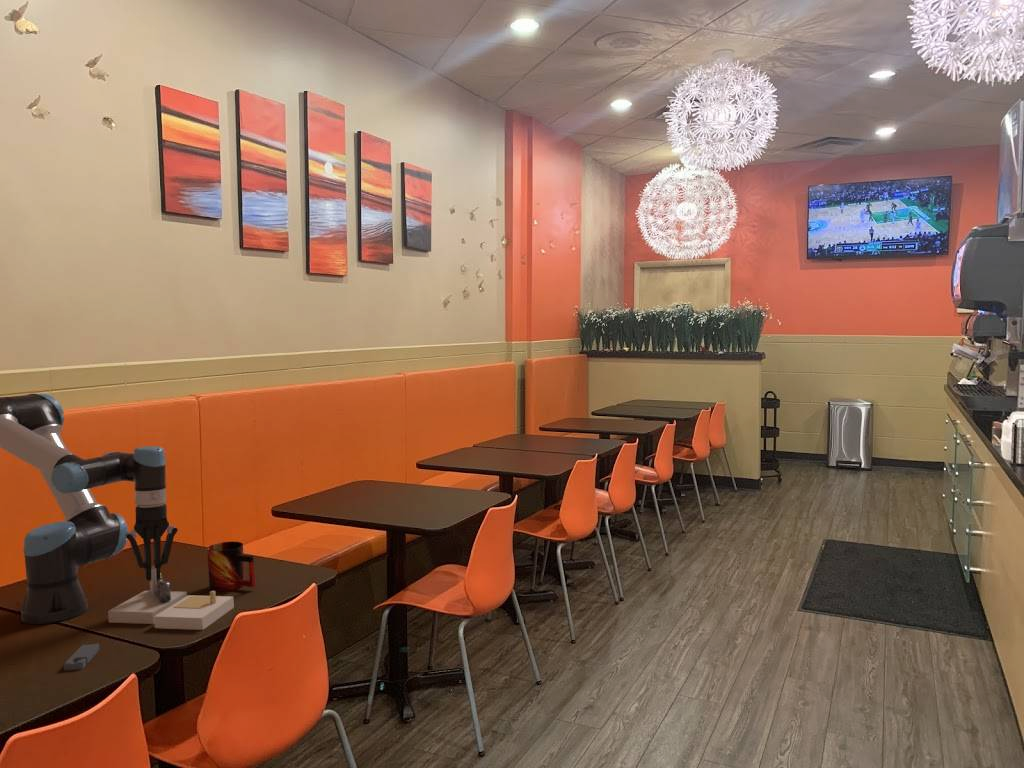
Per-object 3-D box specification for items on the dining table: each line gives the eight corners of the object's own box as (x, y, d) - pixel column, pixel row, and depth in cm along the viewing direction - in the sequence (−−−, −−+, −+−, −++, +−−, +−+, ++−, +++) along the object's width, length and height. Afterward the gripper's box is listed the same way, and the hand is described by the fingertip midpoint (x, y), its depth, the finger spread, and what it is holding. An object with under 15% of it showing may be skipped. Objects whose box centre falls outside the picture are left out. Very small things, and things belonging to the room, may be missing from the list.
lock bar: (171, 600, 198) (170, 583, 198) (160, 602, 197) (159, 585, 196) (163, 586, 209) (162, 570, 209) (152, 588, 208) (151, 572, 208)
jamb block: (108, 622, 193) (108, 611, 193) (145, 601, 208) (144, 590, 208) (153, 623, 191) (152, 612, 191) (187, 602, 206) (186, 591, 206)
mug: (254, 591, 214) (252, 549, 213) (204, 593, 213) (202, 551, 212) (263, 579, 224) (261, 540, 223) (215, 582, 223) (213, 542, 222)
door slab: (154, 628, 189) (153, 604, 188) (188, 606, 203) (187, 584, 203) (202, 629, 187) (201, 606, 186) (233, 607, 201) (232, 585, 201)
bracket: (100, 651, 177) (99, 643, 176) (83, 671, 166) (82, 662, 166) (81, 653, 176) (81, 644, 176) (63, 672, 166) (62, 664, 166)
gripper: (127, 510, 195) (130, 599, 196) (179, 503, 203) (181, 590, 204) (122, 505, 201) (124, 592, 202) (172, 499, 209) (175, 583, 210)
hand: (153, 591), depth 203 cm, fingers closed
